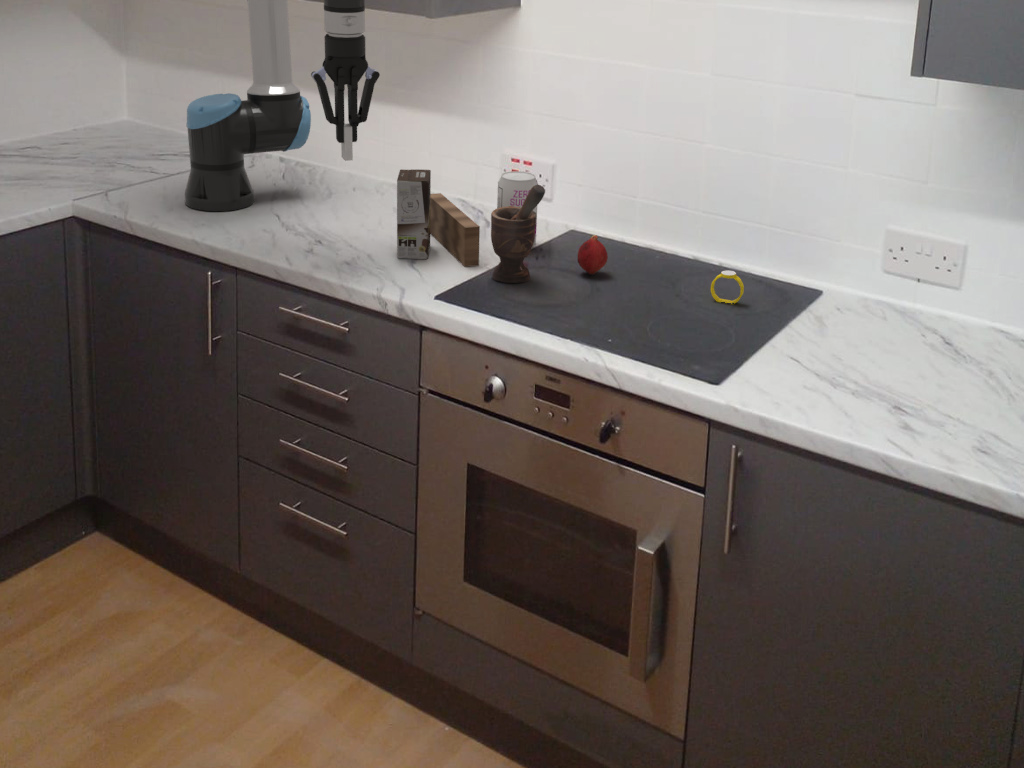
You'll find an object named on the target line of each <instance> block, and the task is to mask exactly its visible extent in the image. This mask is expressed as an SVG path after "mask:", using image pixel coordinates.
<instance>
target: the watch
mask: <svg viewBox="0 0 1024 768" xmlns="http://www.w3.org/2000/svg"><path fill="white" fill-rule="evenodd" d="M721 278H724V279H728V280H729V279H734V280H735V282H737V284H738V286H739V287H740V289H739V290H740V293H739V296H738V297H737V298H735V299H733V300H730V299H724V298H720V297H719V296H718V295H717V294H716V291H715V285H716V281H717V280H718V279H721ZM744 291H745V286H744V283H743V281H742V279H741V278H740V277H739V276H738V275H737V273H736V272H735V271H734V270H723V271H721V273H720V274H718V275H716V277H715V278H714V279H713V280H712V281H711V283H710V293H711V296H712V298H713V299H714V300H715V301H716V302H717V303H721V302H725V303H724V304H727V303H731V304H730V305H733V304H732V303H734V304H736V303H738V302H739V301H740V299H741V298H742V297H743V295H744Z"/></svg>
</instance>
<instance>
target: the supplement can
mask: <svg viewBox="0 0 1024 768" xmlns="http://www.w3.org/2000/svg"><path fill="white" fill-rule="evenodd" d="M535 185H539V183H538V179H537V177H536V174H533V173H532V172H526V171H516V170H515V171H511V170H510V171H507V172H503V173H502V174H501V175H500V177H499V180H498V181H497V198H496V199H497V203H496V204H497V205H496V209H497V208H501V207H508V206H515V207H520V208H521V207H522V205H523V203H524V201H525V199H526V197H527V195H528V193H529V191H530V190H531V188H532V187H533V186H535ZM533 211H534V212H535V213H536V214H537V215H538V205H537V206H536V207H535V208H534V209H533ZM537 220H538V218H537V219H536V227H535V240H534V244H533V247H532V249H533V248H534V247H535V246H536V245H537V226H538V225H537V224H538V223H537V222H538V221H537Z"/></svg>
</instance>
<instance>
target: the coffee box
mask: <svg viewBox="0 0 1024 768" xmlns="http://www.w3.org/2000/svg"><path fill="white" fill-rule="evenodd" d="M431 173H432V171H431V169H400V170H399V171H398V175H397V179H396V184H397V185H396V188H397V189H396V193H397V194H396V258H397V259H413V260H415V259H416V260H427V259H428V258H429V254H430V253H429V252H430V248H431V234H430V194H431V182H432V181H431V178H432V177H431Z"/></svg>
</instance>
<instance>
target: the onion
mask: <svg viewBox="0 0 1024 768" xmlns="http://www.w3.org/2000/svg"><path fill="white" fill-rule="evenodd" d="M598 238H599V237H598V236H597V234H596V235H595V234H594V235H592V236H591V237H590V238H589V239H587V240H586V241H584V242H583V243H582V244H581V246H579V249H578V251H577V263H578V266H579V267H581V268H582V270H584V271H585V272H587V273H588V274H589V275H595V274H596V273H597V272H598V271H600V270H601V269H602V268H603V267H605V266H606V265H607V264H606V263H607V262H608V252H607V249H606V247H605V245H604V244H603V243H602V242H601V241H599V240H598Z"/></svg>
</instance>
